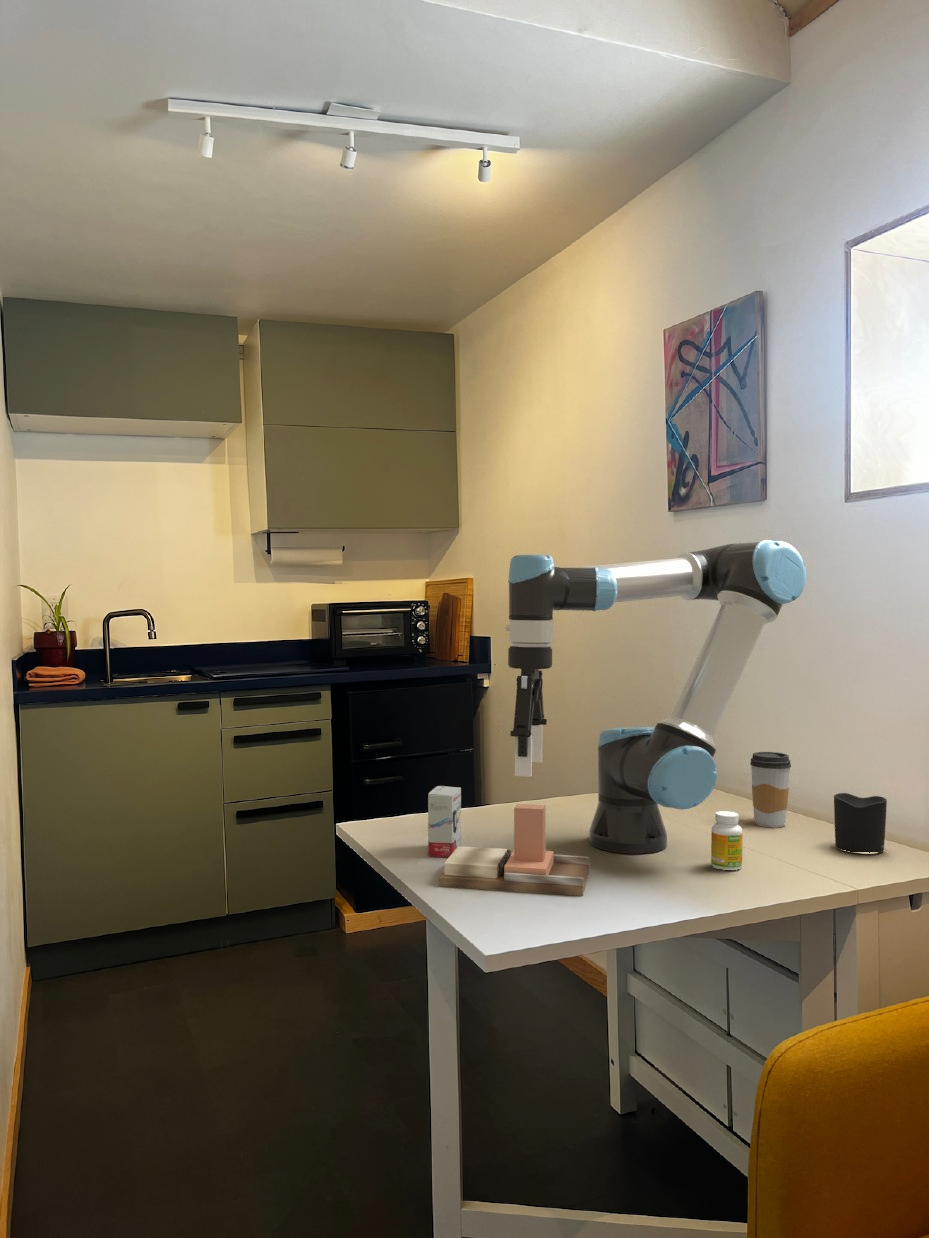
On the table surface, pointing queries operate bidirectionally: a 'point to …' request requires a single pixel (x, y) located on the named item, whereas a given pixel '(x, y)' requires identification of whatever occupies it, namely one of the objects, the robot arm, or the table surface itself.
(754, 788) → the coffee cup
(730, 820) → the supplement bottle
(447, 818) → the ink box
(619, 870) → the table surface
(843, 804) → the pen holder
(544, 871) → the stub
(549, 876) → the board
